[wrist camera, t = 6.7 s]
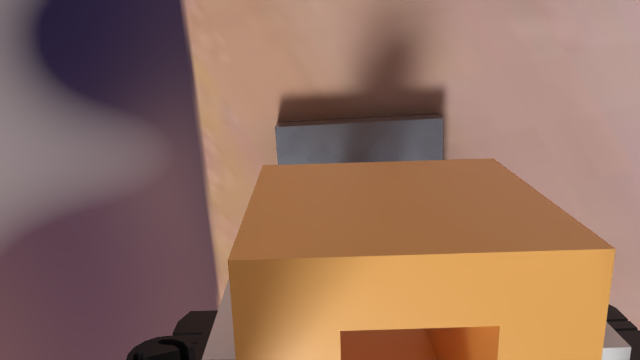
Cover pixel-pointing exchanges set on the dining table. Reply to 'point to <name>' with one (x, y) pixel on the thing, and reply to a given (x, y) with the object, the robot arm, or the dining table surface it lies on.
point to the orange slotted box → (414, 266)
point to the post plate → (360, 140)
